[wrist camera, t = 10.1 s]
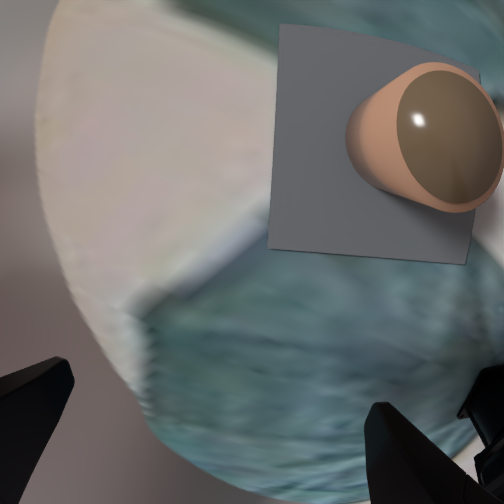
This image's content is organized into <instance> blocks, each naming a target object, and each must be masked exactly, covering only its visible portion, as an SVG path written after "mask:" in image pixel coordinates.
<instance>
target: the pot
mask: <svg viewBox="0 0 504 504" xmlns="http://www.w3.org/2000/svg"><path fill="white" fill-rule="evenodd" d="M345 142H346V149H347V153H348V156H349V159H350V161H351V163H352V165H353V167H354V168H355V170H356V171H357V173H358V174H359V175H360V176H361V177H362V178H363V179H364V180H365V181H366V182H367V183H369V184H370V185H372V186H374V187H375V188H377V189H380V190H383V191H386V192H389V193H392V194H395V195H398V196H401V197H404V198H407V199H410V200H413V201H416V202H419V203H422V204H424V205H427V206H430V207H433V208H436V209H438V210H441V211H445V212H451V213H460V212H466V211H470V210H472V209H474V208H476V207H478V206H480V205H481V204H482V203H484V202H485V201H486V200H487V199H488V198H489V197H490V196H491V194H492V193H493V192H494V190H495V188H496V187H497V185H498V183H499V181H500V178H501V175H502V172H503V168H504V131H503V126H502V123H501V119H500V116H499V114H498V112H497V109H496V107H495V105H494V103H493V102H492V100H491V98H490V97H489V95H488V94H487V92H486V91H485V90H484V89H483V87H482V86H481V85H480V84H479V83H478V82H477V81H476V80H475V79H474V78H472V77H471V76H470V75H469V74H467V73H466V72H464V71H463V70H461V69H459V68H457V67H455V66H452V65H449V64H445V63H439V62H428V63H423V64H420V65H417V66H415V67H413V68H411V69H410V70H408V71H406V72H405V73H403V74H402V75H400V76H399V77H397V78H396V79H395V80H393V81H392V82H390V83H389V84H387V85H386V86H384V87H383V88H381V89H380V90H378V91H377V92H376V93H374V94H373V95H371V96H370V97H368V98H367V99H365V100H364V101H363V102H361V103H360V104H359V105H358V106H357V107H356V108H355V109H354V111H353V112H352V114H351V116H350V118H349V120H348V123H347V127H346V134H345Z"/></svg>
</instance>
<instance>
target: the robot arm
mask: <svg viewBox="0 0 504 504" xmlns="http://www.w3.org/2000/svg"><path fill="white" fill-rule="evenodd" d="M74 382H75V380H74V376H73V373H72V370H71V368H70V364H69V362H68V361H67V360H66V359H64V358H61V357H58V356H56V357H53V358H50V359H47V360H45V361H42V362H40V363H37V364H35V365H32V366H29V367H27V368H24V369H21V370H19V371H16V372H13V373H11V374H8V375H5V376H3V377H0V504H19V501H20V499H21V497H22V495H23V492H24V490H25V488H26V486H27V483H28V481H29V479H30V477H31V475H32V473H33V471H34V469H35V467H36V465H37V463H38V460H39V459H40V457H41V454H42V453H43V451H44V449H45V447H46V445H47V443H48V441H49V439H50V437H51V435H52V433H53V431H54V429H55V428H56V426H57V424H58V422H59V420H60V417H61V415H62V413H63V410H64V408H65V405H66V403H67V401H68V398H69V396H70V394H71V391H72V389H73V387H74ZM457 418H458V419H464V418H470V419H471V421H472V423H473V425H474V427H475V429H476V431H477V432H478V434H479V436H480V438H481V440H482V442H483V444H484V446H485V449H484V450H483V451H481V452H480V453H478V454H477V455H476V456H475V457H474V461H475V468H476V473H477V477H478V482H479V484H478V483H477V482H476V481H475V480H474V479H473V478H472V477H470V476H469V475H468V474H467V475H466V472H465V471H464V470H462V469H461V468H460V467H459V466H458V465H457V464H456V463H455V462H454V461H452V460H451V459H450V458H449V457H448V456H447V455H446V454H445V453H444V452H442V451H441V450H440V449H439V448H438V447H437V446H436V445H435V444H434V443H433V442H431V441H430V440H429V439H428V438H427V437H426V436H425V435H424V434H423V433H422V432H421V431H419V430H418V429H417V428H416V427H415V426H414V425H413V424H412V423H411V422H410V421H409V420H408V419H406V418H405V417H404V416H403V415H402V414H401V413H400V412H399V411H398V410H397V409H396V408H395V407H393V406H392V405H391V404H390V403H389V402H376V403H374V404H373V405H372V407H371V409H370V412H369V414H368V416H367V419H366V421H365V425H364V434H365V453H366V474H367V481H368V488H369V494H370V501H371V504H504V365H502V366H497V367H491V368H485V369H483V370H482V371H481V373H480V375H479V377H478V379H477V381H476V382H475V384H474V386H473V388H472V390H471V392H470V394H469V395H468V397H467V399H466V401H465V402H464V404H463V406H462V407H461V409H460V411H459V412H458V414H457Z"/></svg>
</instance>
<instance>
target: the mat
mask: <svg viewBox="0 0 504 504" xmlns="http://www.w3.org/2000/svg"><path fill="white" fill-rule="evenodd" d="M428 62H439V63H445V64H449V65H452V66H455V67H457V68H459V69H461V70H463V71H464V72H466V73H467V74H469V75H470V76H471V77H472V78H474V79H475V80H476V81H477V82H478V83H479V84H480V78H479V70H477V69H475V68H472V67H470V66H468V65H465V64H463V63H460V62H458V61H455V60H453V59H450V58H447V57H445V56H442V55H439V54H436V53H433V52H430V51H427V50H424V49H421V48H418V47H414V46H411V45H407V44H404V43H400V42H396V41H393V40H389V39H384V38H380V37H376V36H371V35H366V34H361V33H356V32H350V31H344V30H338V29H331V28H324V27H315V26H305V25H293V24H280V26H279V51H278V73H277V94H276V113H275V132H274V150H273V167H272V183H271V199H270V215H269V230H268V244H267V248H268V249H281V250H294V251H307V252H319V253H332V254H344V255H356V256H368V257H381V258H393V259H405V260H417V261H428V262H440V263H452V264H463V265H465V262H466V257H467V253H468V248H469V243H470V238H471V233H472V228H473V222H474V216H475V209H476V208H474V209H472V210H470V211H466V212H460V213H451V212H445V211H441V210H438V209H436V208H433V207H430V206H427V205H424V204H422V203H419V202H416V201H413V200H410V199H407V198H404V197H401V196H398V195H395V194H392V193H389V192H386V191H383V190H380V189H377V188H375V187H374V186H372V185H370V184H369V183H367V182H366V181H365V180H364V179H363V178H362V177H361V176H360V175H359V174H358V173H357V171H356V170H355V168H354V167H353V165H352V163H351V161H350V159H349V156H348V153H347V149H346V142H345V134H346V127H347V123H348V120H349V118H350V116H351V114H352V112H353V111H354V109H355V108H356V107H357V106H358V105H359V104H360V103H361V102H363V101H364V100H365V99H367V98H368V97H370V96H371V95H373V94H374V93H376V92H377V91H378V90H380V89H381V88H383V87H384V86H386V85H387V84H389V83H390V82H392V81H393V80H395V79H396V78H397V77H399V76H400V75H402V74H403V73H405V72H406V71H408V70H410V69H411V68H413V67H415V66H417V65H420V64H423V63H428Z"/></svg>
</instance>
